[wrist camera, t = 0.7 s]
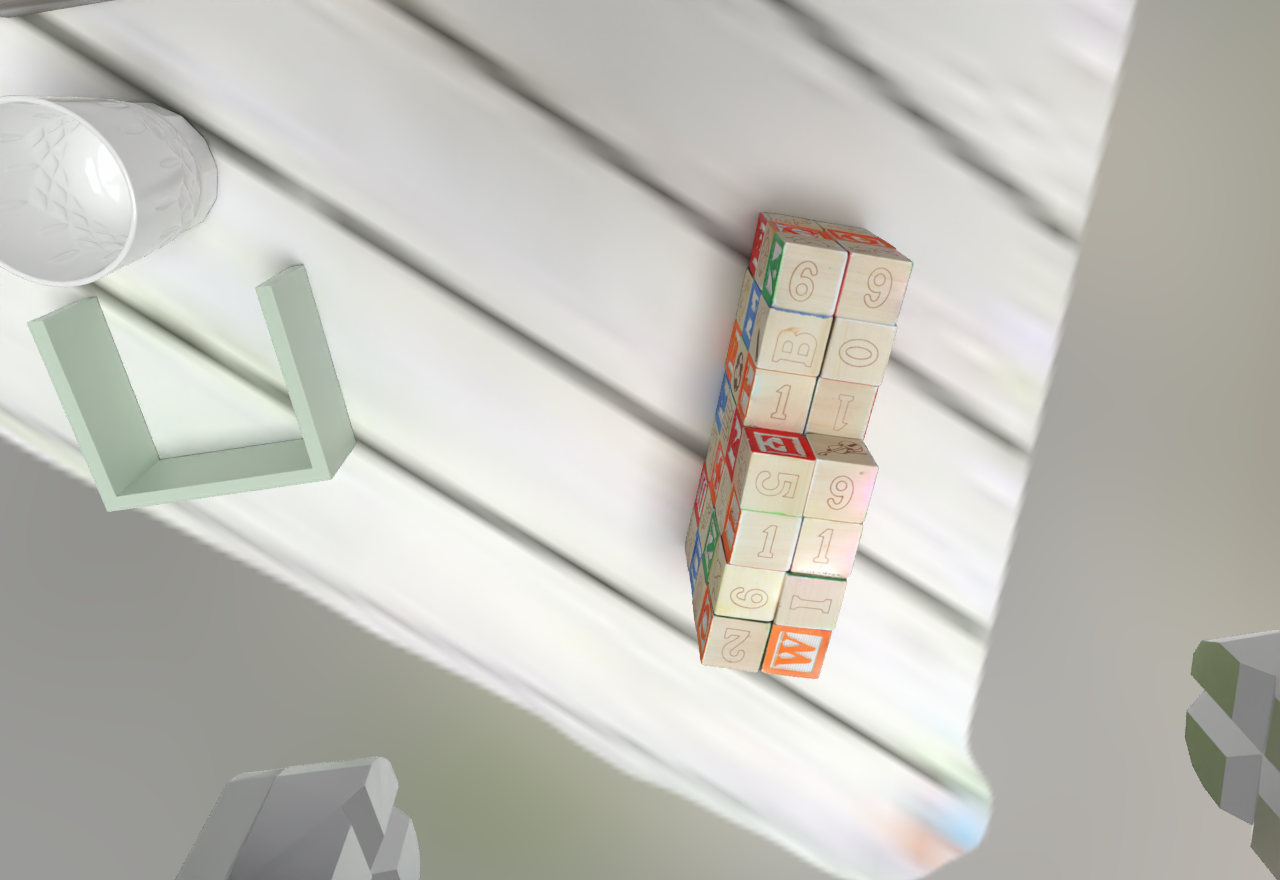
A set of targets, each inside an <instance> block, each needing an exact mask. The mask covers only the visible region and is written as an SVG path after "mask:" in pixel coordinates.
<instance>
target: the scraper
mask: <svg viewBox="0 0 1280 880" xmlns="http://www.w3.org/2000/svg"><path fill="white" fill-rule="evenodd" d="M106 1H112V0H0V17H6V18H10V17H16V16H22V15H28V14H34V13H40V12H46V11H52V10H58V9H64V8H70V7H76V6H82V5H88V4H94V3H100V2H106Z"/></svg>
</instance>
